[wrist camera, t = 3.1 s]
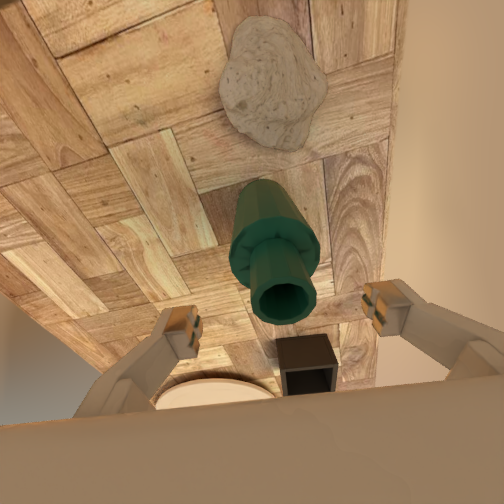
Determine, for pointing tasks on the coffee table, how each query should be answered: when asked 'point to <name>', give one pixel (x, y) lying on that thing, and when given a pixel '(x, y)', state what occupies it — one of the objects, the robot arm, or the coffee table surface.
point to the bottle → (274, 253)
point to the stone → (271, 84)
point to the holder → (307, 365)
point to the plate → (210, 393)
